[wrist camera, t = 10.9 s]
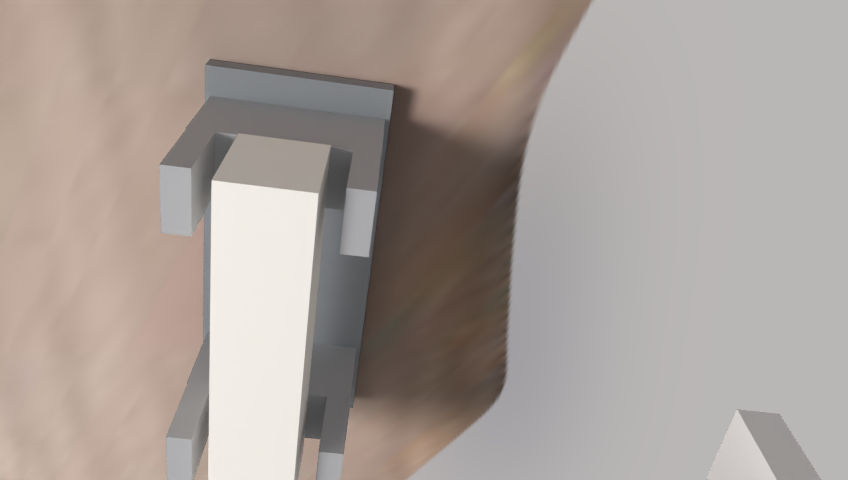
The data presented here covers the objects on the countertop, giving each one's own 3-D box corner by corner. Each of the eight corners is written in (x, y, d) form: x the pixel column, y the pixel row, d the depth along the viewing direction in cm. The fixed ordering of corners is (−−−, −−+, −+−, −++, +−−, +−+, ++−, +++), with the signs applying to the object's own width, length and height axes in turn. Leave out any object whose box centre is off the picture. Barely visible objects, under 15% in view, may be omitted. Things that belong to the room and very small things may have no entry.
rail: (238, 133, 33) (211, 180, 28) (330, 145, 33) (318, 193, 28) (229, 442, 41) (207, 516, 37) (303, 449, 41) (290, 523, 37)
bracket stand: (210, 59, 37) (150, 126, 28) (394, 84, 37) (389, 157, 29) (206, 381, 46) (161, 503, 38) (353, 396, 47) (341, 519, 38)
